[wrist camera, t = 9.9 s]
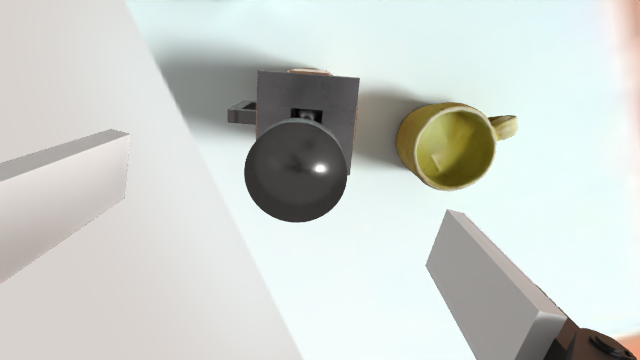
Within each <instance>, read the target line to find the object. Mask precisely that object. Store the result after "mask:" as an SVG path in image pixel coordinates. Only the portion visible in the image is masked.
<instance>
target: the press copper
mask: <svg viewBox="0 0 640 360" xmlns="http://www.w3.org/2000/svg"><path fill="white" fill-rule="evenodd" d="M359 80H360V78H354V77H341V76H333V75H332V74H331V73H329V72H328V71H325V70H318V69H312V68H306V69H299V68H296V69H292V70H288V71H286V72H276V71H263V70H258V85H257V102H254V101H243V102H241V103H239V104H237V105H235V106H233V107H231V108H230V109H228V122H229V123H242V124H256V141H257V140H258V138H259V137H260V136H261V135H262V133H263V132H264V131H265V130H266V129H267V128H269V127H270V126H272V125H273V124H275V123H277V122H279V121H282V120H285V119H290V118H291V108H298V109H312V110H323V112H322V125H323V126H325V127H326V128H327V129H328V130H330V131H331V132H332V133H333V135H334V136H335V137H336V139H337V140H338V142H339V144H340V146H341V148H342V151H343V154H344V158H345V162H346V166H347V175H350V167H351V158H352V148H353V146H354V138H355V128H356V118H357V109H358V107H357V99H358V90H359Z"/></svg>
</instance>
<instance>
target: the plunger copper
mask: <svg viewBox="0 0 640 360" xmlns="http://www.w3.org/2000/svg"><path fill="white" fill-rule="evenodd" d="M322 112H323V110H312V109H298V108H291V118H290V119H285V120H282V121H279V122H277V123H275V124H273V125H272V126H270V127H269V128H267V129H266V130H265V131H264V132H263V133H262V135H261V136H260V137H259V138H258V140H257V141H256V142H255V143H254V145H253V146H252V148H251V149H250V151H249V153H248V156H247V159H246V162H245V169H244V176H245V183H246V186H247V189H248V192H249V194H250V196H251V197H252V199H253V201H254V202H255V203H256V204H257V205H258V206H259V207H260V208H261V209H262V210H263V211H264V212H266V213H267V214H269V215H270V216H272V217H274V218H277V219H279V220H283V221H287V222H307V221H311V220H314V219H317V218H319V217H321V216H323V215H325V214H326V213H328V212H329V211H330V210H331V209H332V208H333V207H334V206H335V205H336V204H337V203H338V201H339V200H340V198H341V196H342V195H343V192H344V190H345V187H346V182H347V166H346V162H345V158H344V154H343V151H342V148H341V146H340V144H339V142H338V140H337V139H336V137H335V136H334V135H333V133H332V132H331V131H330V130H328V129H327V128H326V127H325V126H323V125H322Z"/></svg>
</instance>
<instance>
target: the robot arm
mask: <svg viewBox="0 0 640 360" xmlns="http://www.w3.org/2000/svg"><path fill="white" fill-rule="evenodd" d="M130 137H131V134H129V133H125V132H121V131H117V130H112V129H110V130H107V131H104V132H100V133H97V134H94V135H90V136H87V137H84V138H81V139H78V140H74V141H71V142H68V143H65V144H61V145H58V146H55V147H51V148H48V149H45V150H42V151H39V152H36V153H32V154H29V155H26V156H23V157H19V158H16V159H13V160H9V161H6V162H3V163H0V284H1V283H2V282H4V281H5V280H7V279H8V278H10V277H11V276H12V275H14V274H15V273H17V272H18V271H20V270H21V269H23V268H24V267H26V266H27V265H29V264H30V263H31V262H33V261H34V260H36V259H37V258H39V257H40V256H42V255H43V254H44V253H46V252H47V251H49V250H50V249H52V248H53V247H55V246H56V245H57V244H59V243H60V242H62V241H63V240H65V239H66V238H68V237H69V236H70V235H72V234H73V233H75V232H76V231H78V230H79V229H80V228H82V227H83V226H85V225H86V224H88V223H89V222H91V221H92V220H94V219H95V218H97V217H98V216H99V215H101V214H102V213H104V212H105V211H107V210H108V209H109V208H111V207H112V206H114V205H115V204H117V203H118V202H120V201H121V200H123V199H124V197H125V187H126V177H127V166H128V157H129V147H130ZM425 266H426V268H427V269H428V271H429V273H430V275H431V277H432V279H433V280H434V282H435V284H436V286H437V288H438V290H439V291H440V293H441V295H442V297H443V299H444V301H445V302H446V304H447V306H448V308H449V310H450V312H451V314H452V315H453V317H454V319H455V321H456V323H457V325H458V326H459V328H460V330H461V332H462V334H463V336H464V337H465V339H466V341H467V343H468V345H469V347H470V348H471V350H472V352H473V354H474V356H475V358H476V359H477V360H637V359H636V357H635V356H634V355H633V354H632V353H631V352H630V351H629V350H628V349H626V348H625V347H623V346H622V345H621V344H619V343H618V342H617V341H615V340H614V339H612V338H611V337H609V336H606V335H604V334H601V333H599V332H597V331H594V330H590V329H587V328H579V327H578V326H577V325H576V324H575V323H574V322H573V321H572V320H571V319H570V318H569V317H568V316H567V315H566V314H565V313H564V312H563V311H562V310H561V309H560V308H559V307H557V306H556V304H555V303H554V302H553V301H552V300H551V299H550V298H548V296H547V295H546V294H545V293H544V292H543V291H542V290H541V289H540V288H539V287H538V286H537V285H535V284H534V283H533V282H532V281H531V280H530V279H529V278H528V277H527V276H526V275H525V274H524V273H523V272H522V271H521V270H520V269H519V268H518V267H517V266H516V265H515V264H514V263H513V262H512V261H511V260H510V259H509V258H508V257H507V256H506V255H505V254H504V253H503V252H502V251H501V250H500V249H499V248H498V247H497V246H496V245H495V244H494V243H493V242H492V241H491V240H490V239H489V238H488V237H487V236H486V235H485V234H484V233H483V232H482V231H481V230H480V229H479V228H478V227H477V226H476V225H475V224H474V223H473V222H472V221H471V220H470V219H469V218H468V217H467V216H466V215H465V214H464V213H460V212H456V211H452V210H448V209H447V211H446V213H445V216H444V219H443V221H442V224H441V226H440V229H439V232H438V234H437V237H436V239H435V242H434V245H433V247H432V250H431V252H430V255H429V258H428V260H427V263H426V265H425Z"/></svg>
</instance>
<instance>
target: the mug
mask: <svg viewBox="0 0 640 360" xmlns="http://www.w3.org/2000/svg"><path fill="white" fill-rule="evenodd" d="M516 131H517V117H516V116H512V115H506V116H496V117H489V118H487V117H486V116H485V115H484V114H483V113H482V112H480V111H479V110H477V109H475V108H473V107H471V106H468V105H465V104H462V103H453V102H447V103H440V104H431V105H426V106H424V107H421V108H418V109H416V110H414V111H413V112H412V113H410V114H409V115H408V116H407V117H406V118H405V119H404V121H403V122H402V124H401V126H400V128H399V130H398V133H397V137H396V148H397V152H398V155H399V157H400V159H401V161H402V163H403V164H404V165H405V166H406V168H408V169H409V170H410V171H412V172H413V173H414V174H415V175H416V176H417V177H418V178H419V179H420V180H421V181H422V182H423V183H425V184H426V185H428V186H430V187H432V188H434V189H437V190H443V191H454V190H459V189H463V188H465V187H468V186H470V185H472V184H474V183H475V182H477V181H478V180H480V179H481V178H482V177H483V176H484V175H485V174H486V173H487V171H488V170H489V168H490V167H491V165H492V163H493V161H494V158H495V153H496V142H497V141H499V140H504V139H507V138H509V137H512V136H514V134H515V133H516Z"/></svg>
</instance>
